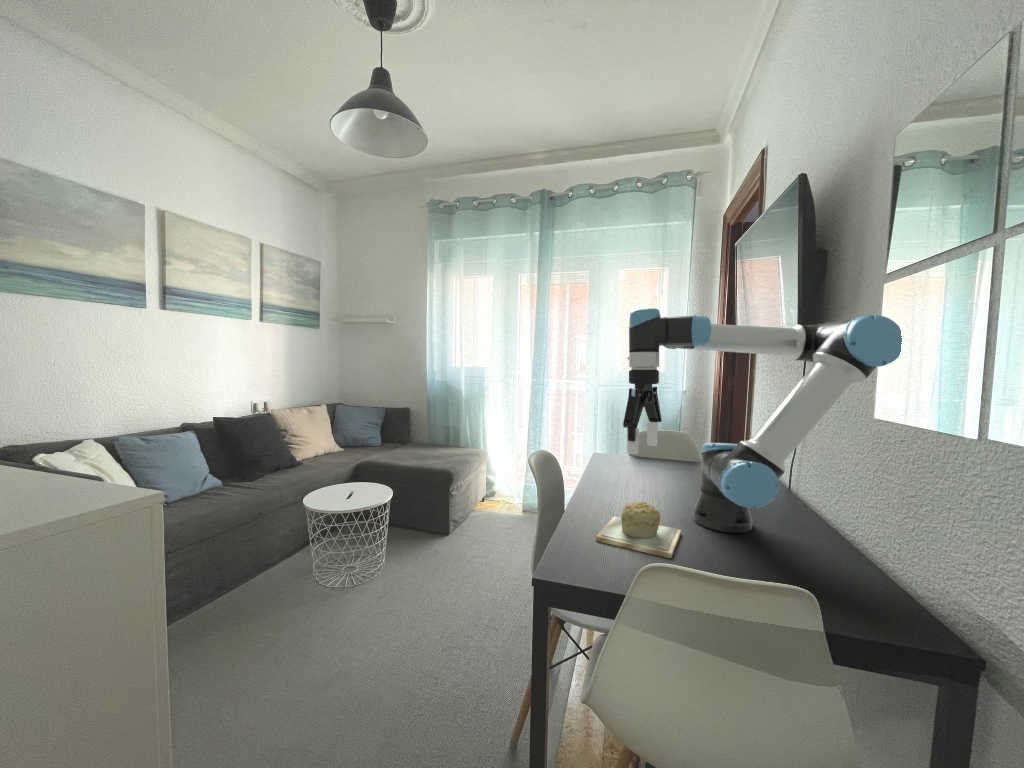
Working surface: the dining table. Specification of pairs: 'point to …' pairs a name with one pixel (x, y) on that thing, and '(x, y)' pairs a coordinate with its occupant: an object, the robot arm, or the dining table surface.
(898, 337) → the robot arm
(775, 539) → the dining table surface
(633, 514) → the decorative item
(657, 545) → the board
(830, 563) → the dining table surface
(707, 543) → the dining table surface
